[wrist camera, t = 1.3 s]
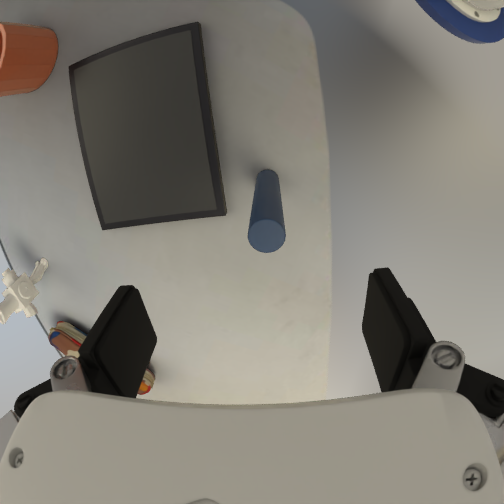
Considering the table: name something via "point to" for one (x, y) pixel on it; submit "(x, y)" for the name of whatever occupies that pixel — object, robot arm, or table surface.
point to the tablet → (149, 130)
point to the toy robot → (21, 291)
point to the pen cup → (25, 57)
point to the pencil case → (72, 339)
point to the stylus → (267, 214)
